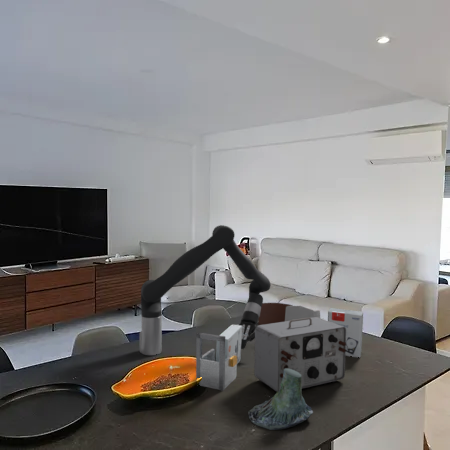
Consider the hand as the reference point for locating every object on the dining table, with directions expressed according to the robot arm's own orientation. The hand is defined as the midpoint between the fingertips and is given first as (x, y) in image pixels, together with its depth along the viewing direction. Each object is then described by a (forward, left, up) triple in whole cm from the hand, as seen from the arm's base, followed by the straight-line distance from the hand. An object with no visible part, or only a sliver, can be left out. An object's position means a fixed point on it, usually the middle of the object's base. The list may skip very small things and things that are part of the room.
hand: (241, 348), depth 190 cm
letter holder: (-2, +58, -6) cm, 59 cm away
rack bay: (0, -24, -5) cm, 25 cm away
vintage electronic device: (+30, -12, -5) cm, 33 cm away
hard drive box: (+40, +29, -5) cm, 50 cm away
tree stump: (+30, -41, -6) cm, 51 cm away
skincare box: (-1, -11, -5) cm, 12 cm away
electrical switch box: (+19, +35, -5) cm, 41 cm away
